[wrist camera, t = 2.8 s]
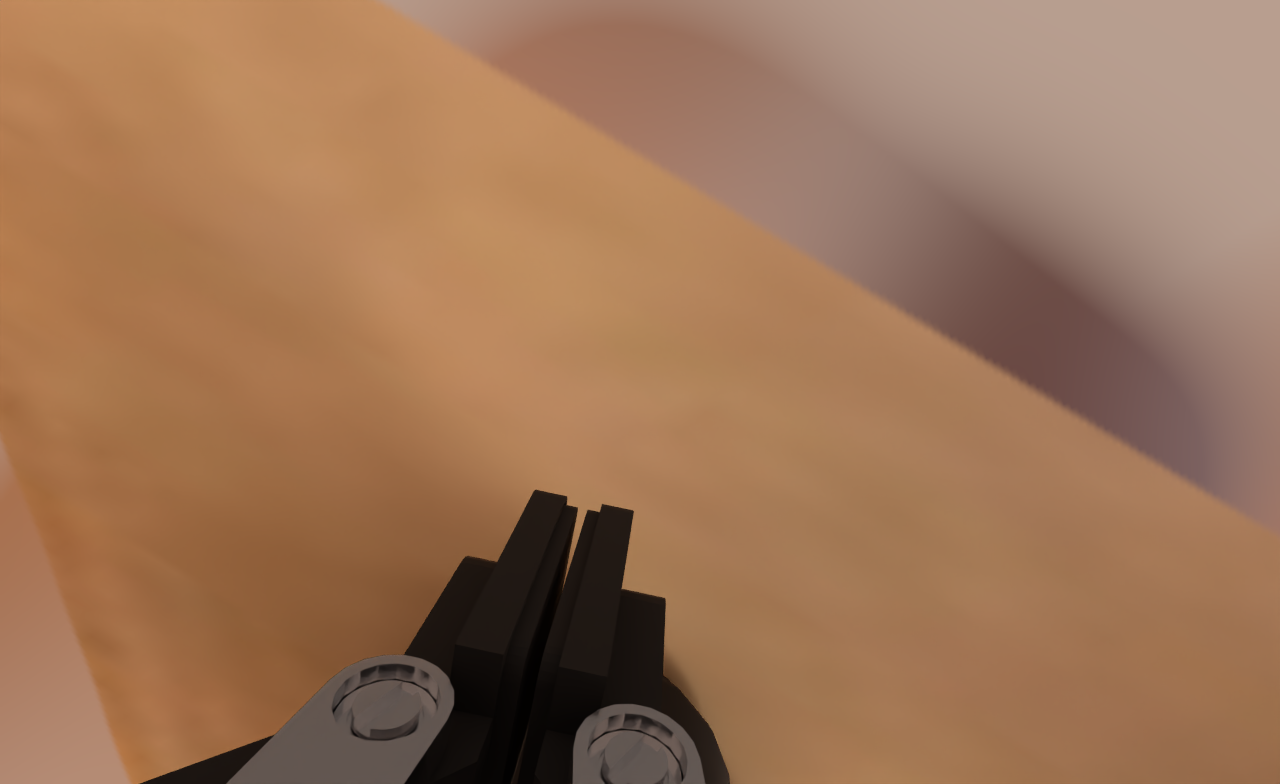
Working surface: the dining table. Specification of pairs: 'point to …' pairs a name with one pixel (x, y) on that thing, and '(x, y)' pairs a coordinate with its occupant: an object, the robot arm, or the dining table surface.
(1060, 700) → the dining table surface
